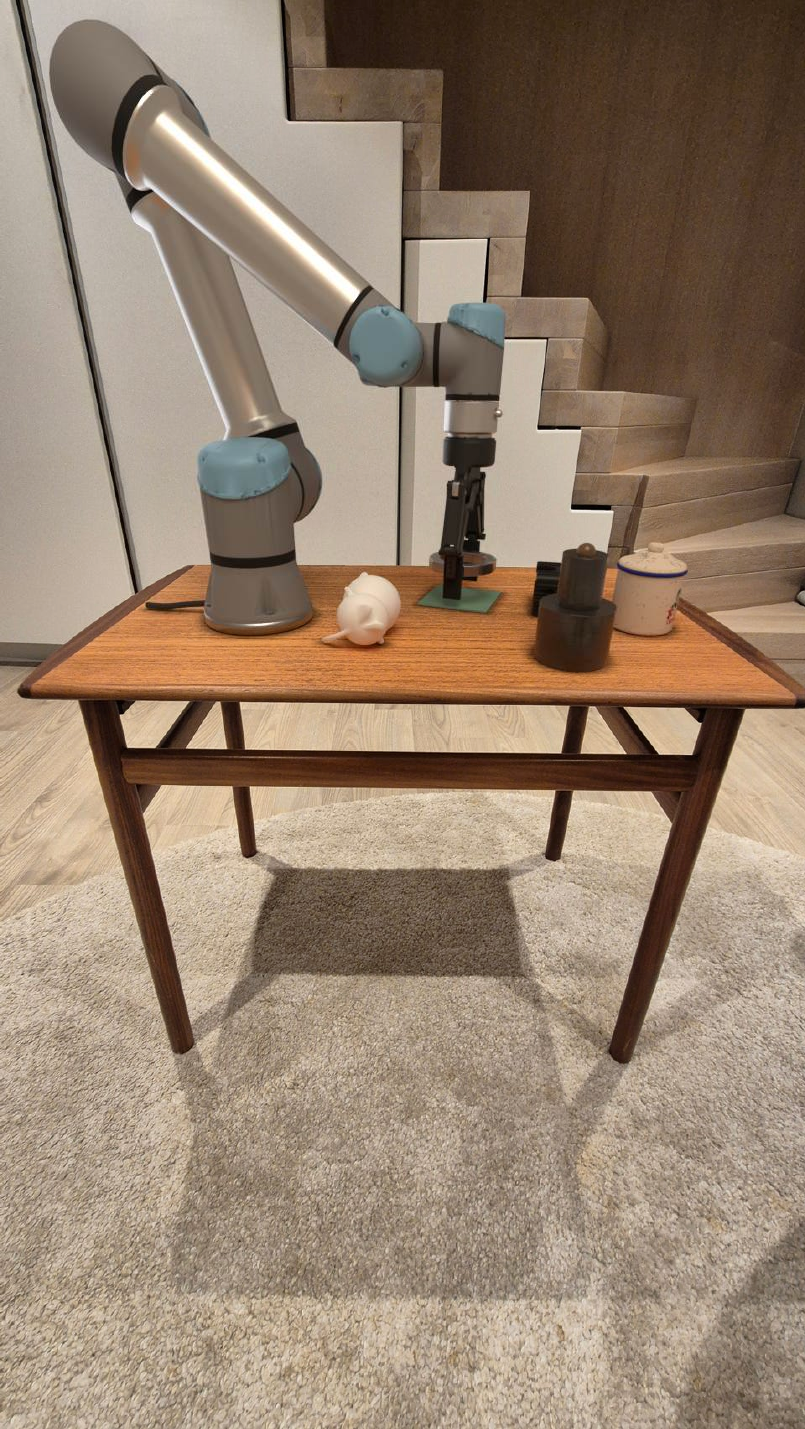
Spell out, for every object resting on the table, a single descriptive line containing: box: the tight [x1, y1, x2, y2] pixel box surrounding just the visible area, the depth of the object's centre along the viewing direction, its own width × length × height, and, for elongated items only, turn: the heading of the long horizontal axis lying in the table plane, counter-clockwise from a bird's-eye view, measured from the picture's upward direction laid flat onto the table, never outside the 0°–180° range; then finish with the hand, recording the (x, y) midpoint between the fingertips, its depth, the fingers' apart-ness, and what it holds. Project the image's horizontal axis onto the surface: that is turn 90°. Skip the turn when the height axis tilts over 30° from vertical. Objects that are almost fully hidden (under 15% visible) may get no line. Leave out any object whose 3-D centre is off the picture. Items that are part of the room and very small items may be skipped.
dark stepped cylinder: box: [532, 542, 617, 673], centre depth 72 cm, size 9×9×14 cm
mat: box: [416, 584, 502, 614], centre depth 96 cm, size 11×11×1 cm
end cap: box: [531, 560, 561, 618], centre depth 91 cm, size 10×7×7 cm
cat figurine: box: [321, 571, 402, 646], centre depth 79 cm, size 9×11×12 cm
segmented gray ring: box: [428, 550, 498, 577], centre depth 93 cm, size 10×10×2 cm
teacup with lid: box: [611, 541, 689, 637], centre depth 84 cm, size 12×9×12 cm
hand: (460, 589), depth 95 cm, fingers closed on segmented gray ring, 10 cm apart
